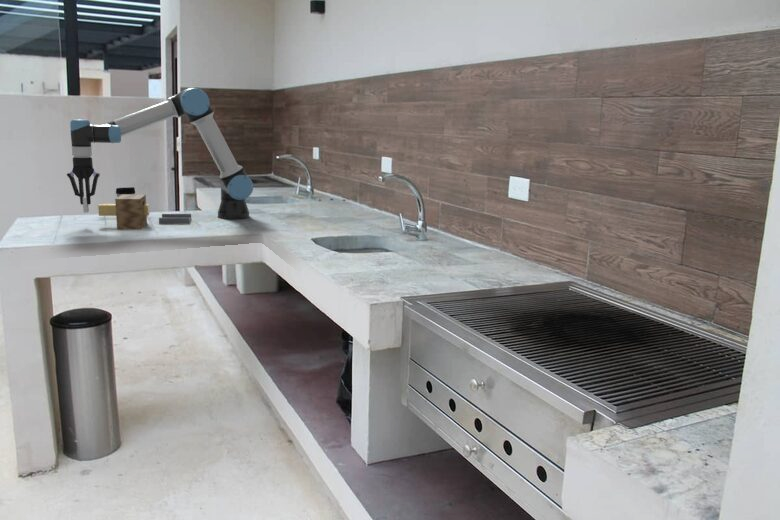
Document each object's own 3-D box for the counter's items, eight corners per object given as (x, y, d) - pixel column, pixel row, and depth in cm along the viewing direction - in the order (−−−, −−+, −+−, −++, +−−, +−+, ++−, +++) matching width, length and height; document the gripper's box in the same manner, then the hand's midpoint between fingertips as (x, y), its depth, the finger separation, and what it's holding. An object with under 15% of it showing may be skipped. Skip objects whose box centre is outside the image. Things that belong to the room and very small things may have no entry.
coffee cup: (132, 221, 297) (130, 188, 294) (114, 220, 297) (112, 188, 294) (139, 218, 306) (138, 186, 302) (121, 218, 306) (120, 186, 302)
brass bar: (149, 214, 288) (148, 204, 287) (148, 215, 284) (147, 205, 283) (101, 214, 284) (100, 203, 283) (98, 215, 279) (98, 205, 278)
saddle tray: (191, 219, 308) (191, 213, 308) (189, 223, 296) (189, 218, 295) (162, 219, 305) (162, 213, 305) (159, 224, 293) (158, 218, 292)
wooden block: (147, 223, 294) (145, 194, 291) (141, 229, 279) (140, 199, 276) (123, 223, 292) (121, 194, 289) (117, 229, 277) (115, 199, 274)
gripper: (100, 156, 280) (104, 210, 285) (67, 155, 277) (71, 210, 282) (97, 157, 273) (100, 213, 278) (63, 157, 270) (67, 213, 275)
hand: (86, 212), depth 280 cm, fingers closed
